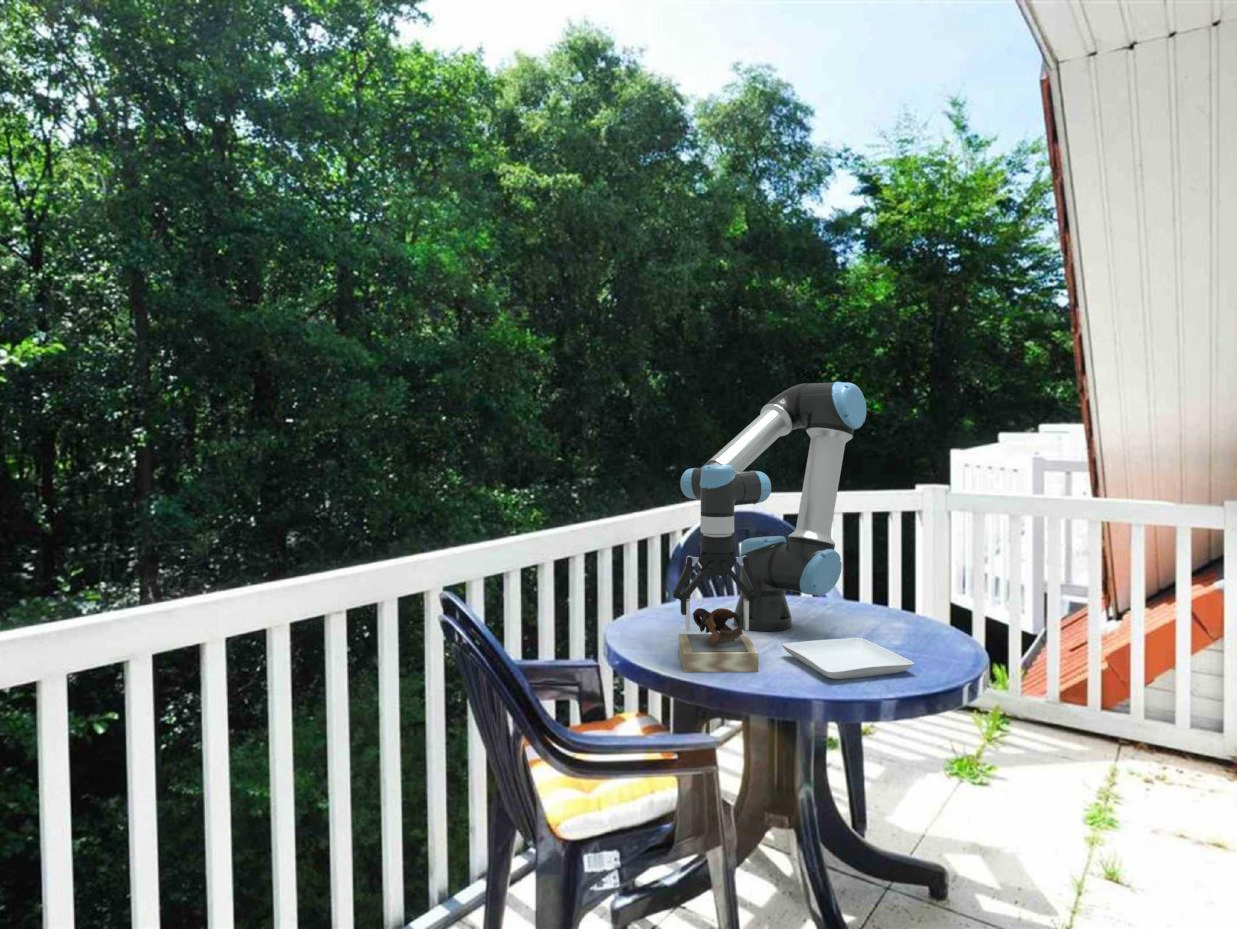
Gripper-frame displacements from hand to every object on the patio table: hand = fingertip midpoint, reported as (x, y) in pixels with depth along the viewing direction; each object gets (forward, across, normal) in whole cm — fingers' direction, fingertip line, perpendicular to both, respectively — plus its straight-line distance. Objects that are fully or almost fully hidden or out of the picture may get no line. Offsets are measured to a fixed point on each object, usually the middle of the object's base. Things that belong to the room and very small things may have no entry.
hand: (716, 629), depth 187 cm
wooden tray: (+7, 0, 0) cm, 7 cm away
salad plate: (+8, -28, +4) cm, 29 cm away
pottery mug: (+3, 0, -2) cm, 3 cm away
